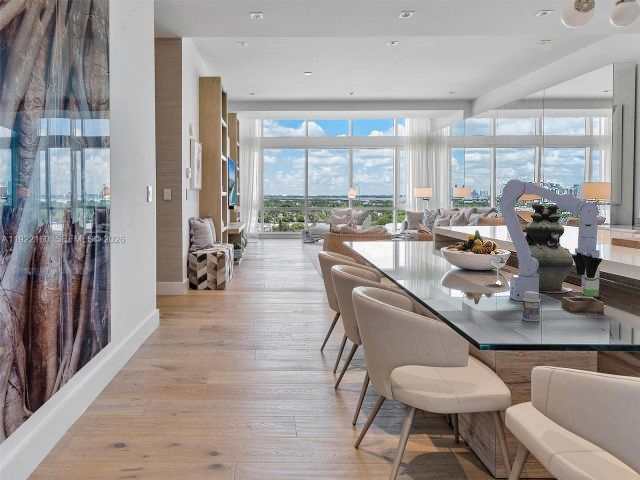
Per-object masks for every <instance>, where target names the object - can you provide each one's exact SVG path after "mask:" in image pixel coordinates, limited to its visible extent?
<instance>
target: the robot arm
mask: <svg viewBox="0 0 640 480" xmlns="http://www.w3.org/2000/svg"><path fill="white" fill-rule="evenodd" d="M501 191H502V192H501V198H500V200H499V201H500V202H499V205H498V207H499V211H500V213H501V216H502V218H503V221H504V223H505V226H506V228H507V231H508V233H509V237H510V239H511V242H512V244H513V247H514V249H515V252H516V257H518V260H519V266H518V265H517V267H518V270H519V272H518V273H517V274H513V275H511V276H510V281H509V282H510V283H509V298H510V299H513V300H514V301H519V302H523V299H524V298H525V291H535V292H539V274H538V273H537V272H536V271H537V269H538V267H539V262H538V260H537V259H536V258H535V257H534V256H533V254H532V252H531V250H530V248H529V246H528V243H527V240H526V238H525V235H526V234H525V233H524V230H523V227H522V225H521V223H520V220H519V218H518V217H519V216H517V215H518V214H517V212H516V210H515V206H516V205H517V203H518V201H519V199H520V198H521V197H522V196H524V195H526V196H532V195H534V196H538V197H539V198H543V199H545V200H548V201H550V202H553V203H555V205H557V207H558V208H559V210H560V209H561V210H562V211H565V212H568V213H570V214H572V215H574V216H575V215H579V216H580V218H579V223H578V233H577V234H578V235H577V247H576V248H574V254H571V257H572V259H573V263H574V264H575V265H574V266H575V270H576V274H577V275H578V276H582V275H584V274H585V270H586V275H587V278H594V277H595V274H596V271H597V268H598V266H599V265H600V264H601V262H603V258H601V257H600V253H601V252H600V251H601V250H600V249H597V241H598V216H599V214H600V210H599V207H598V206H597V205H596V204H595V203H594V202H590V201H588V199H586V198H584V199H582V198H580V197H577V196H575V195H574V193H573V192H572V193H571V192H569V193H568V192H563V193H560V194H559V193H557V192H554V191H551V190H550V189H547V188H545V187H543V186H540V185H538V184H536V183H532V182H528V181H524V180H523V181H522V180H520V179H516V178H513V179H510V180H508V181H507V183H506V184H505V185H504V186H503V188H502V190H501ZM599 267H600V266H599ZM539 293H540V292H539ZM538 299H540V302H543V299H541V298H540V297H539V298H538Z"/></svg>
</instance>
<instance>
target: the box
mask: <svg viewBox="0 0 640 480" xmlns="http://www.w3.org/2000/svg"><path fill="white" fill-rule="evenodd" d="M604 306H605V302H604V301H601V300H599V299H597V298H595V297H594V298H574V296H573V297H571V296H570V297H569V296H568V297H567V296H566V297H565V296H562V297H561V308H562V309H564V310H566V311H569V312H571V313H586V312H589V314H591V313H592V314H596V313H597V314H604V313H605V312H604V310H605V307H604Z"/></svg>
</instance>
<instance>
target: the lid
mask: <svg viewBox="0 0 640 480" xmlns="http://www.w3.org/2000/svg"><path fill="white" fill-rule="evenodd" d="M573 297H574V298H594V299H595V296H580V295H579V296H576V295H575V296H573ZM604 308H606V306H605V305H604Z"/></svg>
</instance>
